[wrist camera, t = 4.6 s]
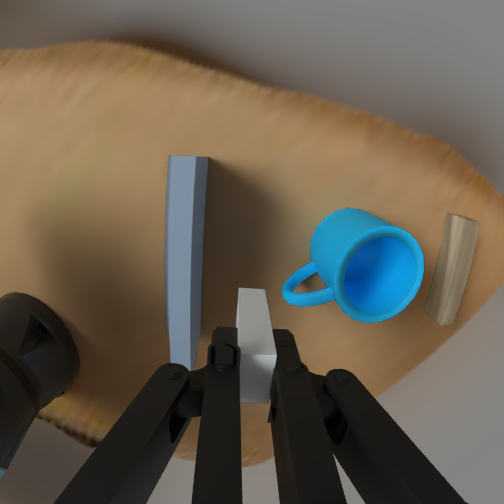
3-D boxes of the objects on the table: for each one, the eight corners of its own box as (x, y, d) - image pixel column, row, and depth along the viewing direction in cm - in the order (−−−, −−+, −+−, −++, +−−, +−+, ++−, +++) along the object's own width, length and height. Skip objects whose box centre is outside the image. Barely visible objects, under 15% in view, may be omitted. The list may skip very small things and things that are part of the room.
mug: (371, 195, 29) (412, 209, 22) (391, 265, 32) (430, 296, 24) (260, 243, 30) (269, 273, 22) (291, 312, 33) (306, 356, 25)
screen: (168, 329, 32) (149, 381, 24) (170, 155, 27) (141, 154, 19) (200, 332, 33) (191, 386, 24) (208, 157, 28) (196, 156, 19)
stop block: (424, 310, 34) (440, 325, 30) (447, 212, 30) (468, 220, 26) (436, 309, 34) (452, 324, 30) (459, 215, 30) (480, 222, 26)
